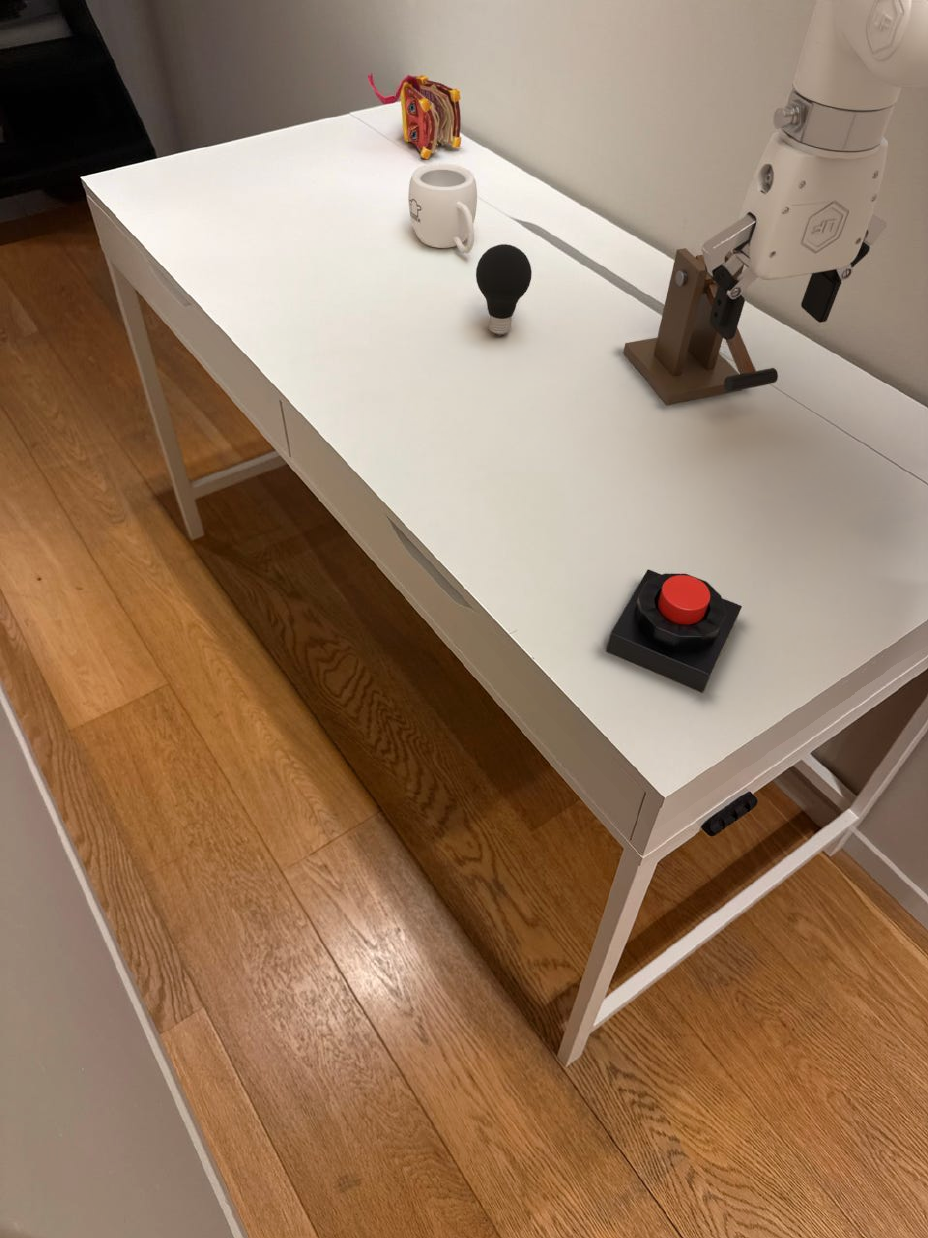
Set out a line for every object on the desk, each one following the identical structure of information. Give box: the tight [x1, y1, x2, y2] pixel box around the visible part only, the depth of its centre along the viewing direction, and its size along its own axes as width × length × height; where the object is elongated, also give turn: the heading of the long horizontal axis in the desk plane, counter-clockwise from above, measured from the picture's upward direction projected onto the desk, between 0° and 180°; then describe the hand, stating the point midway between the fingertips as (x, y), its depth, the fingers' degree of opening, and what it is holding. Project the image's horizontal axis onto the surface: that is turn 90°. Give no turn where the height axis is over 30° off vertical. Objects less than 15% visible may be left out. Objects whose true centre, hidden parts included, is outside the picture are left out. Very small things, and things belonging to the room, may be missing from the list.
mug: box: [407, 162, 478, 254], centre depth 109 cm, size 12×8×8 cm
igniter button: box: [658, 575, 710, 625], centre depth 67 cm, size 4×4×2 cm
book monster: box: [367, 72, 462, 160], centre depth 127 cm, size 11×9×12 cm
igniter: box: [605, 568, 743, 693], centre depth 69 cm, size 8×8×4 cm
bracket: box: [623, 247, 745, 405], centre depth 90 cm, size 10×9×13 cm
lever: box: [694, 254, 779, 393], centre depth 85 cm, size 14×5×2 cm, turn 20°
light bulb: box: [475, 243, 533, 337], centre depth 95 cm, size 6×6×10 cm
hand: (767, 322), depth 80 cm, fingers open, 9 cm apart
